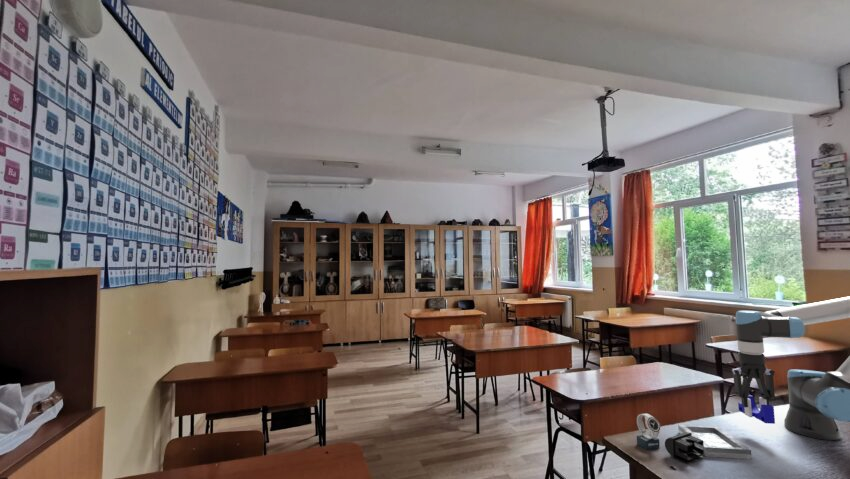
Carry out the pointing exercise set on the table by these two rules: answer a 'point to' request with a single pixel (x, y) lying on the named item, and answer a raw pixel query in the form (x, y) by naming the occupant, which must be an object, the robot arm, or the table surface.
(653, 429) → the watch
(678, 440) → the end cap
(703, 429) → the grey tray
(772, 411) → the cable clip
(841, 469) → the table surface
